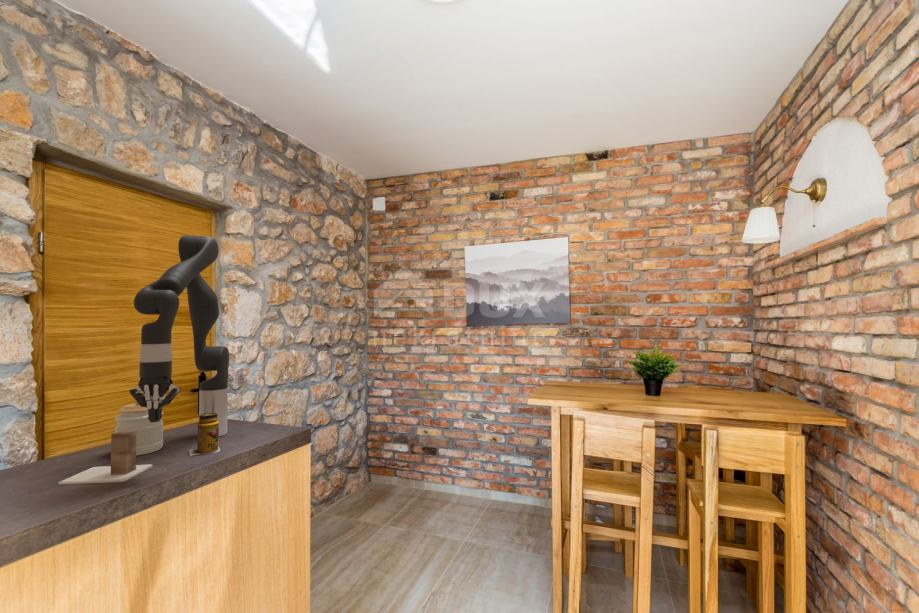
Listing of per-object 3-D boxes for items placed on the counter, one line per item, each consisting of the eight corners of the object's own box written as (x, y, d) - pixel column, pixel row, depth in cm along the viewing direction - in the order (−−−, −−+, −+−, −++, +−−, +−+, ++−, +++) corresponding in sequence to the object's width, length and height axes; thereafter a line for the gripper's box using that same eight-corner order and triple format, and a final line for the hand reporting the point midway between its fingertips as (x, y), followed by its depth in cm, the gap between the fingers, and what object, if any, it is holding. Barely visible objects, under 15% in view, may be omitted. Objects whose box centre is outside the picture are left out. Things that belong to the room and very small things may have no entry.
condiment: (220, 451, 138) (220, 414, 139) (189, 456, 134) (190, 418, 134) (218, 446, 144) (219, 411, 145) (189, 450, 140) (189, 414, 140)
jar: (103, 455, 135) (104, 400, 136) (144, 444, 148) (145, 393, 148) (133, 458, 132) (134, 401, 132) (172, 446, 144) (173, 394, 145)
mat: (93, 468, 123) (93, 466, 123) (152, 466, 124) (152, 464, 124) (58, 484, 111) (58, 482, 111) (123, 481, 112) (124, 479, 112)
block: (121, 469, 120) (121, 430, 120) (136, 469, 120) (136, 430, 120) (110, 475, 116) (111, 434, 116) (126, 474, 116) (126, 433, 116)
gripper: (187, 358, 124) (186, 418, 123) (139, 359, 123) (138, 419, 122) (173, 360, 117) (172, 424, 116) (121, 361, 116) (120, 425, 115)
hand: (154, 421), depth 119 cm, fingers closed
